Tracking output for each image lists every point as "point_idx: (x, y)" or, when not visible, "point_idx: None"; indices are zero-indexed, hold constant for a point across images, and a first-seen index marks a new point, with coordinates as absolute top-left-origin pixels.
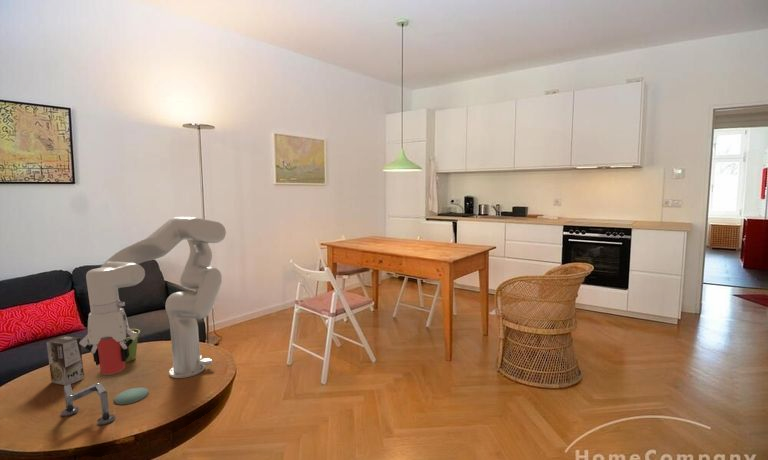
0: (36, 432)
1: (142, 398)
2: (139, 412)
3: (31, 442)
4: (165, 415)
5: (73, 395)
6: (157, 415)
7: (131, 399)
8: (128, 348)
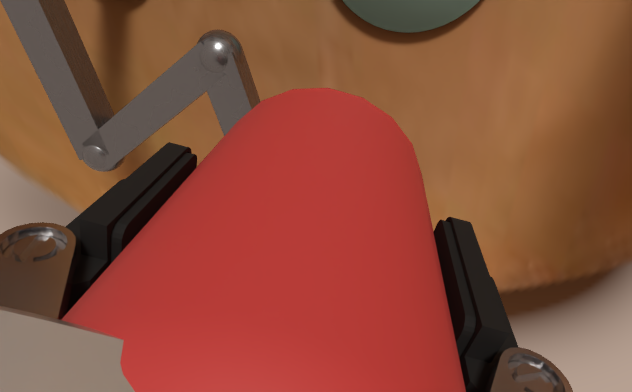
0: (42, 87)
1: (466, 10)
2: (432, 159)
3: (62, 160)
4: (523, 246)
5: (110, 161)
6: (495, 228)
7: (410, 4)
8: (514, 347)
